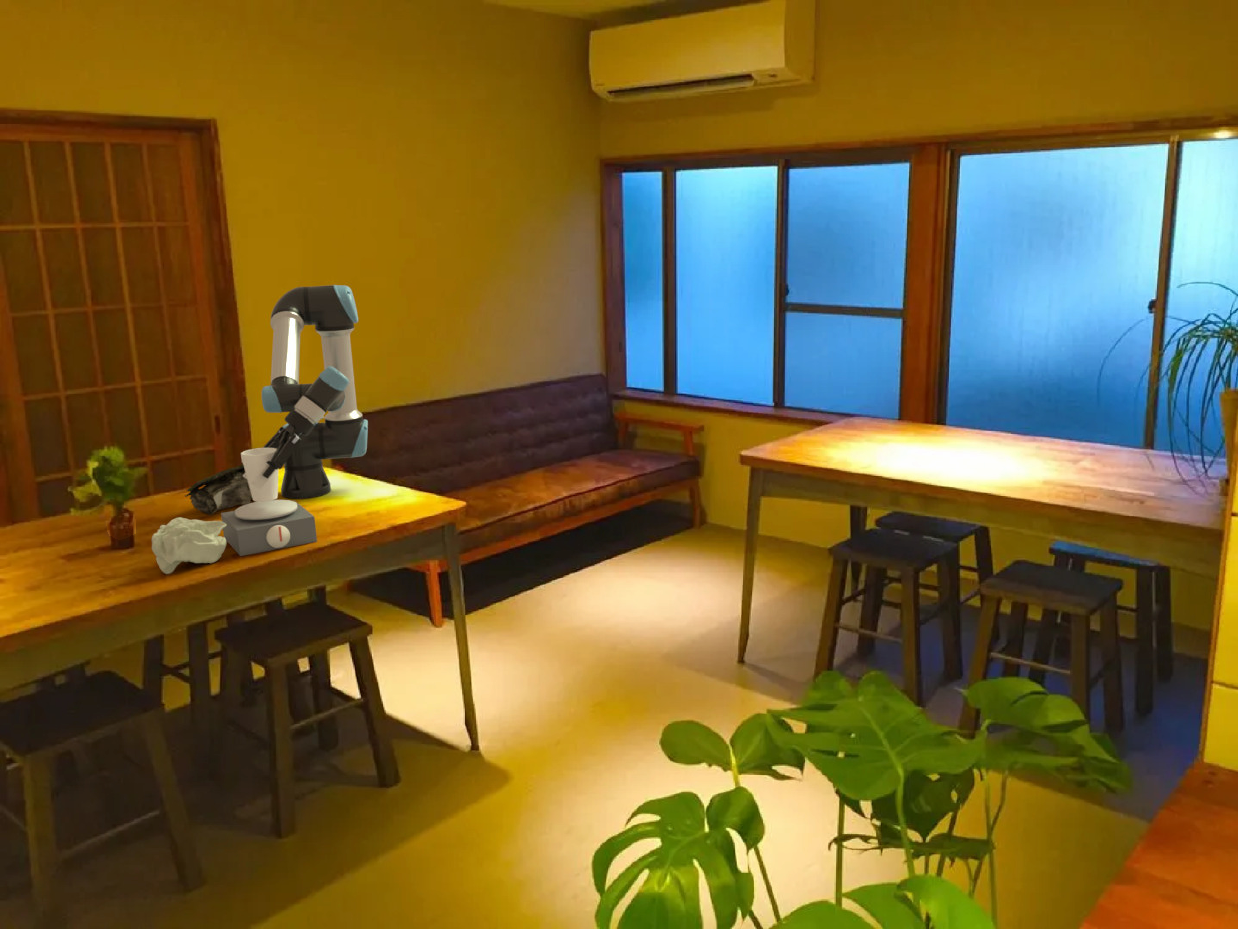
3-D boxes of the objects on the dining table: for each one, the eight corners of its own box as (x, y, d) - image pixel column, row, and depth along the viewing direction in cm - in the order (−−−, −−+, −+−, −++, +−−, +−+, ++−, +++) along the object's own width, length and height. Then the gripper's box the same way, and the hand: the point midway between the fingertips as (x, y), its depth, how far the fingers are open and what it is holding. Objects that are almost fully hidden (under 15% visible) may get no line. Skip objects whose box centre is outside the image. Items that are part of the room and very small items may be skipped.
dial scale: (224, 537, 284) (220, 506, 281) (297, 524, 294) (293, 493, 292) (241, 557, 266) (236, 524, 264) (318, 542, 276) (314, 510, 274)
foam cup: (289, 493, 281) (283, 447, 278) (275, 502, 272) (269, 455, 269) (255, 494, 282) (250, 447, 279) (240, 503, 273) (234, 455, 270)
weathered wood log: (197, 534, 304) (218, 502, 296) (170, 503, 305) (190, 470, 298) (265, 506, 328) (286, 476, 321) (239, 478, 329) (260, 447, 322)
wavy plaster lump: (202, 582, 268) (210, 524, 272) (227, 579, 260) (235, 519, 264) (133, 572, 255) (143, 511, 259) (157, 569, 247) (167, 505, 251)
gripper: (326, 431, 272) (272, 499, 267) (304, 419, 290) (252, 482, 286) (304, 414, 268) (249, 482, 264) (282, 403, 286) (230, 467, 282)
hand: (251, 482), depth 275 cm, fingers closed on foam cup, 9 cm apart
